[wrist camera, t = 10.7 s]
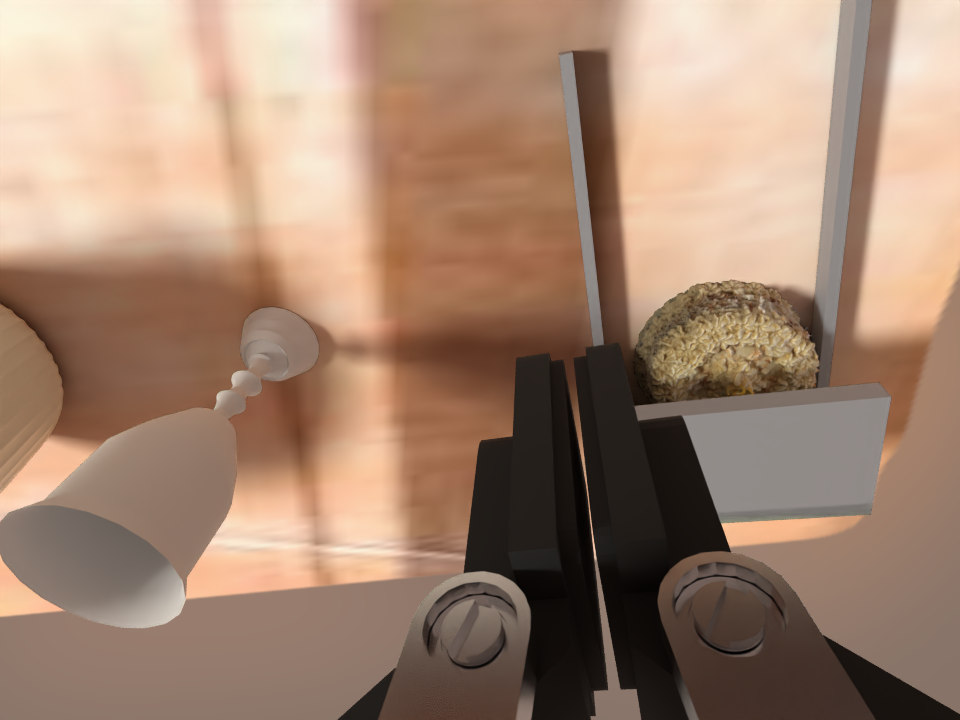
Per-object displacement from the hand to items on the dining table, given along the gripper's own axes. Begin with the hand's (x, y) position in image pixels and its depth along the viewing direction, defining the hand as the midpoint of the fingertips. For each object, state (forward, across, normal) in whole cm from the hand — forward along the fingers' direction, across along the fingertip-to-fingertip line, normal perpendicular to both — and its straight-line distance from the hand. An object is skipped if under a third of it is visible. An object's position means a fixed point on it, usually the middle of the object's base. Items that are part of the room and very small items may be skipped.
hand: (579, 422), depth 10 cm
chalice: (+24, +19, +9) cm, 31 cm away
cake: (+23, -8, +14) cm, 28 cm away
